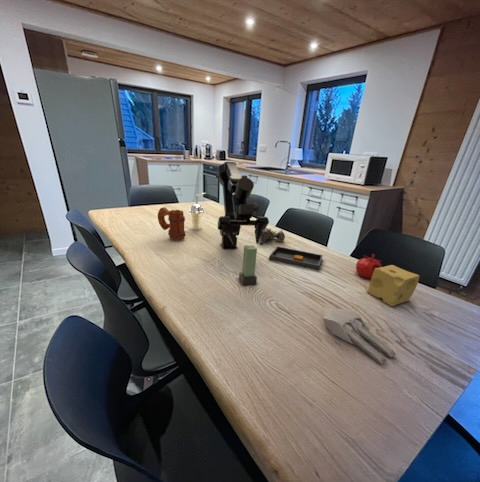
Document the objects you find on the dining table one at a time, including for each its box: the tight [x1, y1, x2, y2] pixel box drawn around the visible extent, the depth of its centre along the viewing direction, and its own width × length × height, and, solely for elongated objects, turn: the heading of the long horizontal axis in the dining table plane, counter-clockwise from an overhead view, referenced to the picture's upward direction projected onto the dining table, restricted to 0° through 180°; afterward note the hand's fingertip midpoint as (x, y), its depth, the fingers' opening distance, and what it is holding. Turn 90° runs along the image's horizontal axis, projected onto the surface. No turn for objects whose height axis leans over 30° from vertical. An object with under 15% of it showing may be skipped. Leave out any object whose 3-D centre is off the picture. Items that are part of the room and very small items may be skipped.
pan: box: [268, 246, 324, 271], centre depth 117 cm, size 21×13×3 cm, turn 68°
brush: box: [238, 244, 258, 286], centre depth 94 cm, size 5×5×14 cm
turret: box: [322, 307, 396, 365], centre depth 71 cm, size 10×20×5 cm, turn 33°
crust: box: [294, 255, 303, 262], centre depth 117 cm, size 4×4×2 cm
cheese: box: [367, 264, 420, 307], centre depth 92 cm, size 10×11×10 cm
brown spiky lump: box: [259, 227, 286, 246], centre depth 137 cm, size 12×11×15 cm
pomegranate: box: [355, 253, 383, 280], centre depth 107 cm, size 10×10×9 cm
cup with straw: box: [188, 192, 207, 231], centre depth 146 cm, size 8×9×20 cm
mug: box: [157, 206, 187, 242], centre depth 130 cm, size 15×8×15 cm, turn 71°
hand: (245, 243), depth 97 cm, fingers open, 9 cm apart
